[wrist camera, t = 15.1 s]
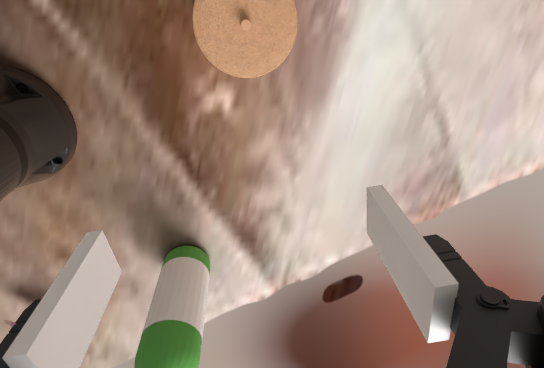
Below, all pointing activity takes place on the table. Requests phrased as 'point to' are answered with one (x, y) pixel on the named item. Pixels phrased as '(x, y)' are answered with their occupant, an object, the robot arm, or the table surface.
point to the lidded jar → (245, 34)
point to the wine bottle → (176, 312)
